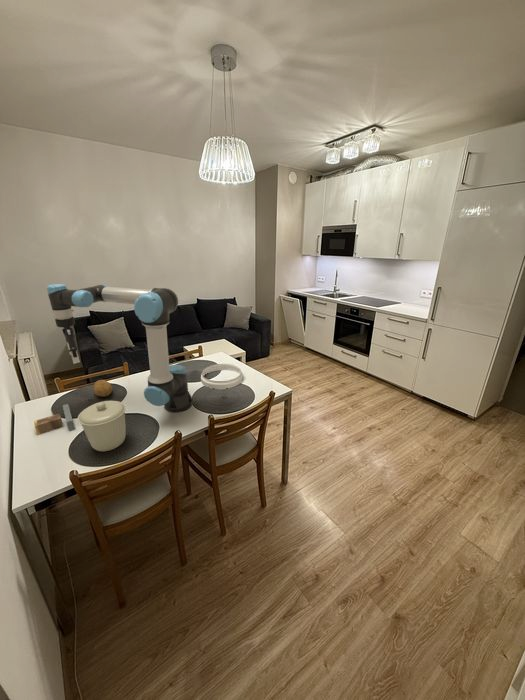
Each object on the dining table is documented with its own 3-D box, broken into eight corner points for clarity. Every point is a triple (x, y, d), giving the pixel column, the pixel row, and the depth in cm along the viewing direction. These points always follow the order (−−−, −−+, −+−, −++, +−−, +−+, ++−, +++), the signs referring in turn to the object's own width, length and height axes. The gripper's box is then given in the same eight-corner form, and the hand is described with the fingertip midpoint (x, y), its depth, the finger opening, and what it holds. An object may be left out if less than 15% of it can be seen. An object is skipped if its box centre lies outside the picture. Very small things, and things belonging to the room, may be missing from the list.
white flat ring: (231, 367, 202) (231, 360, 200) (250, 382, 180) (250, 375, 178) (195, 376, 188) (194, 368, 186) (210, 393, 167) (210, 385, 165)
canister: (118, 425, 137) (109, 387, 130) (139, 440, 128) (132, 400, 120) (78, 446, 123) (66, 405, 116) (99, 464, 114) (88, 421, 106)
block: (60, 418, 134) (34, 426, 128) (63, 426, 136) (37, 435, 130) (59, 413, 138) (34, 420, 132) (62, 421, 140) (37, 429, 134)
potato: (97, 403, 156) (94, 390, 153) (92, 392, 166) (89, 380, 163) (116, 397, 162) (114, 385, 159) (110, 387, 172) (108, 376, 169)
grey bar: (75, 429, 135) (72, 420, 133) (69, 430, 133) (66, 422, 131) (70, 411, 148) (68, 403, 146) (64, 413, 146) (62, 405, 144)
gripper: (77, 322, 127) (87, 364, 135) (70, 311, 145) (79, 349, 153) (57, 324, 122) (69, 368, 130) (52, 313, 140) (63, 352, 148)
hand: (74, 358), depth 141 cm, fingers open, 13 cm apart
